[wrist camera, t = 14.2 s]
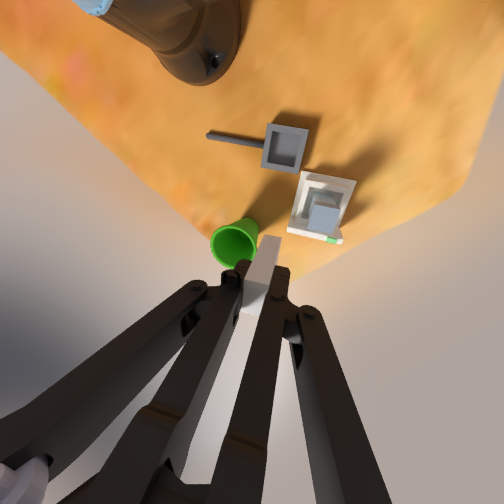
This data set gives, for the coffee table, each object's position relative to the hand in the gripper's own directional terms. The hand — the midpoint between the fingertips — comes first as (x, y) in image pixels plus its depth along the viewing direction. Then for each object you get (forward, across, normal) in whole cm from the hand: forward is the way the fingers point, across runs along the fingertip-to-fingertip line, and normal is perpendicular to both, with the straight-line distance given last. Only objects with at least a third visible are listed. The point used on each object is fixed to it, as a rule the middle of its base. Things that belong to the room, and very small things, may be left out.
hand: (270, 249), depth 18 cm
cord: (+27, -12, +7) cm, 30 cm away
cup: (+27, -8, -10) cm, 30 cm away
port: (+27, +6, -2) cm, 27 cm away
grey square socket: (+27, -3, +6) cm, 28 cm away
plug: (+26, +6, -2) cm, 27 cm away
